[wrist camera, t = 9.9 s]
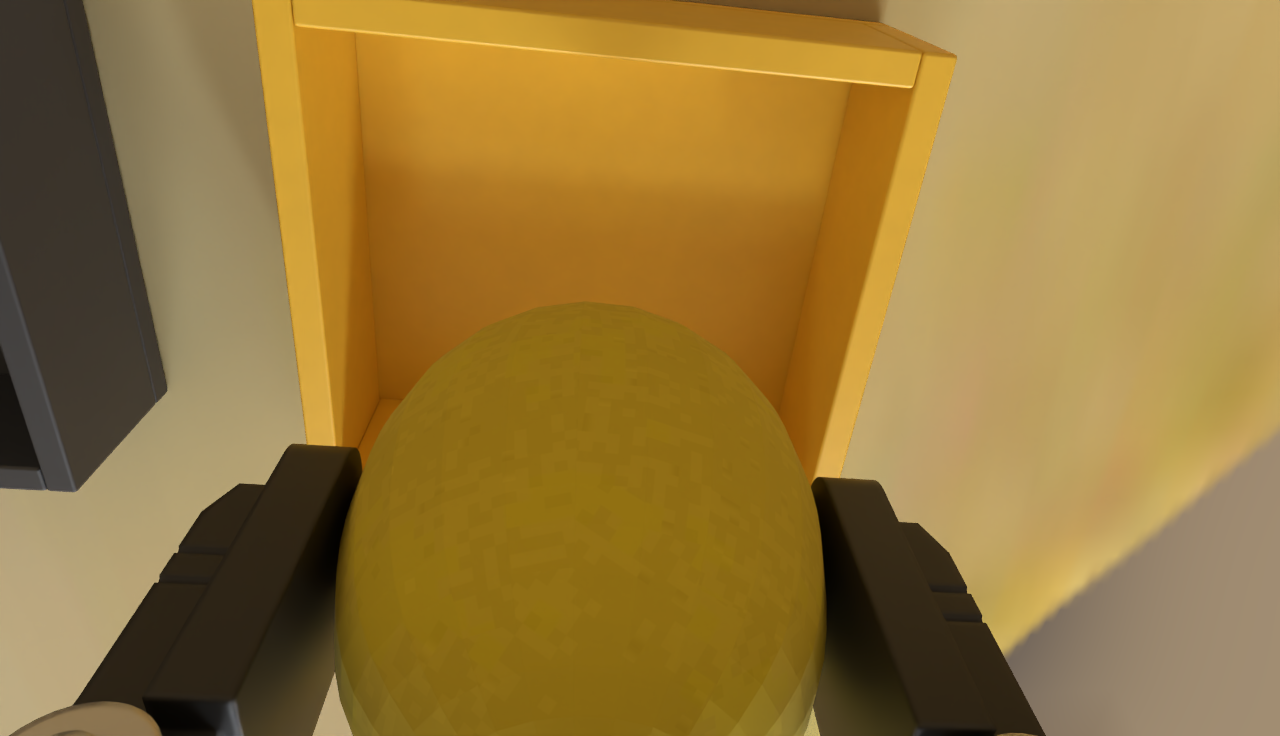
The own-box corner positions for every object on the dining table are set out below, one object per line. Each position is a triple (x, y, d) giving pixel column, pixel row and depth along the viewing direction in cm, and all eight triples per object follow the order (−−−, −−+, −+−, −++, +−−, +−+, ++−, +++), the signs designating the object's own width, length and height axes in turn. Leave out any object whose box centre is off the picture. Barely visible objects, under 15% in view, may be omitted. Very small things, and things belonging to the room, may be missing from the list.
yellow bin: (363, 402, 21) (313, 506, 17) (328, -38, 16) (247, -21, 12) (789, 430, 22) (825, 533, 18) (884, 22, 17) (960, 55, 13)
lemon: (419, 195, 12) (143, 632, 5) (794, 240, 12) (1045, 688, 5) (418, 498, 14) (243, 1056, 7) (724, 522, 15) (830, 1065, 8)
